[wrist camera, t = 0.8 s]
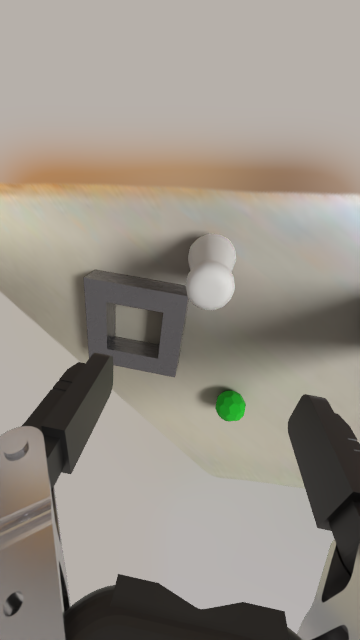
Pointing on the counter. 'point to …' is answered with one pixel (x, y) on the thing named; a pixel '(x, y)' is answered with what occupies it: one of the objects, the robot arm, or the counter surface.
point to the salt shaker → (211, 272)
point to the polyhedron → (230, 406)
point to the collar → (139, 294)
